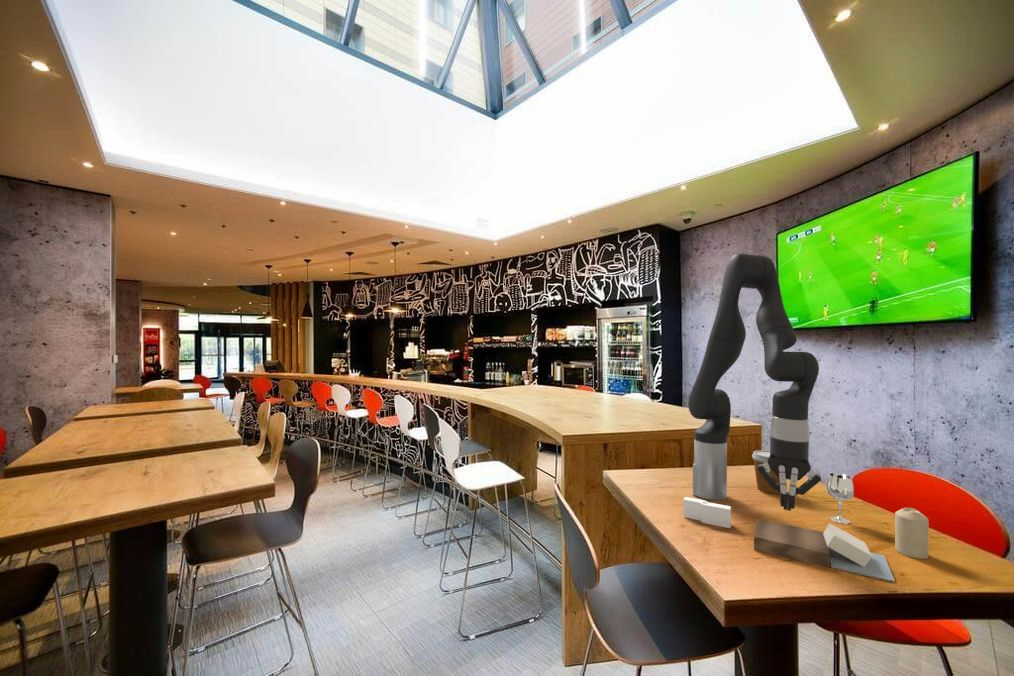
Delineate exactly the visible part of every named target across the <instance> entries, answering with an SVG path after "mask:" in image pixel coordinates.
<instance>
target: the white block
mask: <svg viewBox="0 0 1014 676" xmlns="http://www.w3.org/2000/svg"><path fill="white" fill-rule="evenodd" d="M823 532H824V533H823V535H824V538H825V541H826V544H827V546H828V547H829V548H831V549H833V550H835V551H836V552H838V553H840V554H842V555H843V556H845V557H847V558H849V559H851V560H852V561H854V562H856V563H858V564H859V565H861V566H863V567H865V566H866V565H867V563H868V562H869V560H870V559H871V557H872V555H871V553H872V552H870V550H869V548H868V545H867V544H866V542H865V541H863V540H861V539H859V538H858V537H855V536H854V535H852V534H850V533H848V532H846V531H844V530H843V529H841V528H839V527H837V526H836V525H833V524H832V523H828V524H827V526H826V528H825V530H824V531H823Z"/></svg>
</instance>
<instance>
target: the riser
mask: <svg viewBox="0 0 1014 676" xmlns="http://www.w3.org/2000/svg"><path fill="white" fill-rule="evenodd" d="M754 530H755V531H754V534H753V550H755V551H759V552H762V553H767V554H770V555H775V556H779V557H784V558H788V559H792V560H796V561H800V562H803V563H808V564H812V565H816V566H819V567H820V566H821V567H824V568H829V569H830V567H831V564H830V554H829V548H828V546H827V544H826V541H825V538H824V535H823V533H824V531H820V530H815V529H809V528H805V527H800V526H795V525H791V524H786V523H782V522H777V521H771V520H768V519H763V518H757V521H756V526H755V529H754Z"/></svg>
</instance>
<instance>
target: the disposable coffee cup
mask: <svg viewBox="0 0 1014 676" xmlns="http://www.w3.org/2000/svg"><path fill="white" fill-rule="evenodd" d="M751 457H752V460H753V464H754V471H755V478H756V479H755V481H756V487H757V488H756V489H757V490H758V491H759V490H760V491H759V492H761V491H762V492H761V493H763V492H764V493H763V494H767V493H768V495H780V492H779V491H777V490H774V489H772V487H771V486H770V485H769V483H768V482H767V481H766V479H765V478H764V477H763V476H762V474H761V473H760V472H759V470H758V466H759V464H764V463H766V462H767V461H768V458H769V457H770V450H764V449H763V450H754V451H753V452H752V455H751ZM769 468H770V472H769V473H770V474H771V475H772V477H773V478H774V479H775V480H776V482H777V483H778V484H780V478H779V477H778V476H777V475H776V474H775V473H774V471H773V470H772V469H771V467H770V466H769Z"/></svg>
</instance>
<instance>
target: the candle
mask: <svg viewBox="0 0 1014 676" xmlns="http://www.w3.org/2000/svg"><path fill="white" fill-rule="evenodd" d="M894 514H895V515H894V516H895V517H894V518H895V519H894V524H895V525H894V526H895V528H894V530H895V531H894V539H895V541H894V543H895V544H894V545H895V546H894V547H895V551H896V552H897V553H899V554H901V555H903V556H906V557H909V558H913V559H917V560H918V559H919V560H926V559H927V560H928V558H929V554H930V553H929V547H930V546H929V536H930V535H929V528H930V527H929V518H928V517H927V516H925V514H924V513H921V512H920V511H919V510H917V509H916V508H913V507H903V508H901V509H898V510H897V511H895V513H894Z"/></svg>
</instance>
